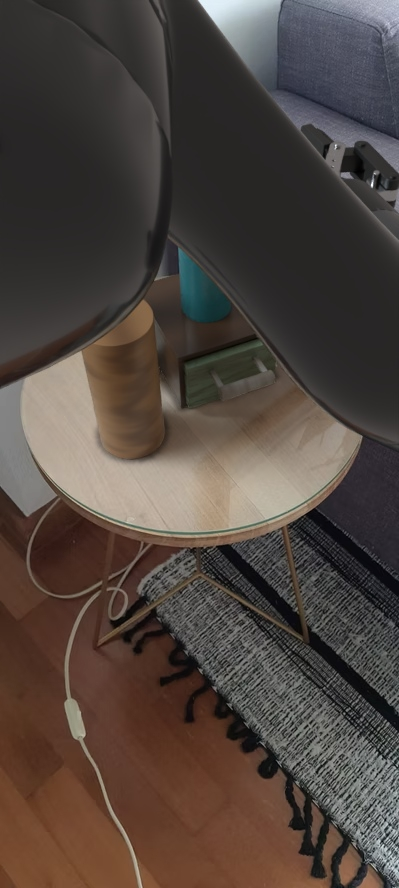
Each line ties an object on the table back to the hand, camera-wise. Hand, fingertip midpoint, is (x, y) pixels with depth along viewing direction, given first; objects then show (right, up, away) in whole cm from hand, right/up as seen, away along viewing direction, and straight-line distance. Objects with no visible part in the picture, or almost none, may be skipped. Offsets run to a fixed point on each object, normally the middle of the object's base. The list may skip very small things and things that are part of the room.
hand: (256, 147), depth 55 cm
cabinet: (-4, -13, +33) cm, 36 cm away
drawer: (-2, -15, +30) cm, 34 cm away
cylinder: (-4, -7, +26) cm, 28 cm away
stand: (-12, -23, +26) cm, 37 cm away
